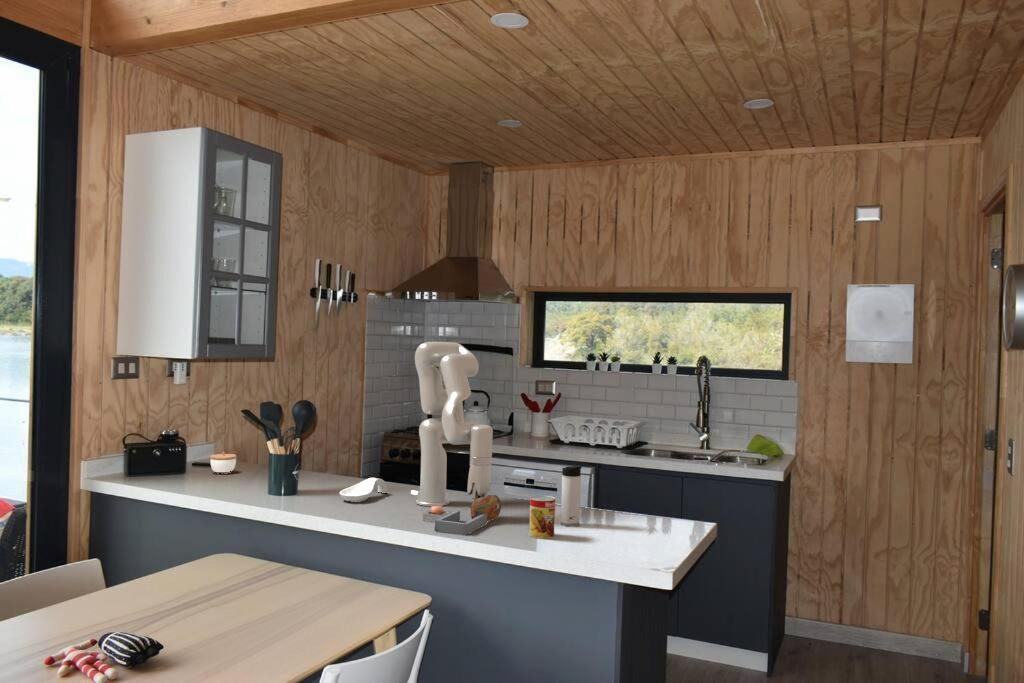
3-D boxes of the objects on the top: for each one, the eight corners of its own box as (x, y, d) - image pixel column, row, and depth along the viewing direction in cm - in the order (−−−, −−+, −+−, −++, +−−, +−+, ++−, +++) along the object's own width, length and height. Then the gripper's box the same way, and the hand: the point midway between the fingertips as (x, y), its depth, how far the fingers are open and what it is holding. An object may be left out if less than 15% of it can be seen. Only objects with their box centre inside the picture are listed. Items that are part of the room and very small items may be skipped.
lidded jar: (230, 470, 360) (231, 449, 360) (239, 474, 351) (240, 452, 351) (206, 472, 353) (206, 451, 353) (215, 476, 344) (215, 454, 344)
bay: (434, 531, 257) (434, 520, 257) (456, 520, 274) (456, 510, 274) (466, 535, 254) (466, 524, 254) (486, 524, 270) (487, 513, 270)
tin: (476, 525, 267) (477, 500, 267) (468, 524, 269) (469, 499, 269) (501, 518, 280) (501, 493, 280) (493, 516, 282) (494, 492, 282)
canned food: (552, 539, 251) (553, 501, 251) (527, 537, 253) (528, 499, 253) (555, 533, 259) (556, 496, 259) (531, 532, 260) (532, 494, 260)
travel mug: (574, 527, 268) (576, 467, 268) (557, 525, 271) (559, 465, 271) (583, 524, 273) (585, 465, 273) (566, 521, 277) (567, 463, 277)
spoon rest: (359, 506, 294) (359, 486, 294) (332, 502, 299) (333, 483, 299) (395, 495, 315) (395, 477, 315) (370, 492, 320) (370, 474, 320)
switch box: (422, 520, 272) (422, 513, 272) (431, 516, 278) (432, 509, 278) (441, 523, 269) (441, 515, 269) (450, 518, 276) (450, 511, 276)
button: (428, 514, 273) (429, 507, 273) (434, 512, 276) (434, 505, 276) (439, 516, 271) (439, 508, 271) (444, 513, 275) (444, 506, 275)
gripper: (479, 457, 286) (477, 509, 287) (461, 463, 273) (460, 517, 273) (499, 459, 284) (497, 511, 284) (482, 465, 270) (480, 520, 270)
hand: (479, 514), depth 278 cm, fingers closed
